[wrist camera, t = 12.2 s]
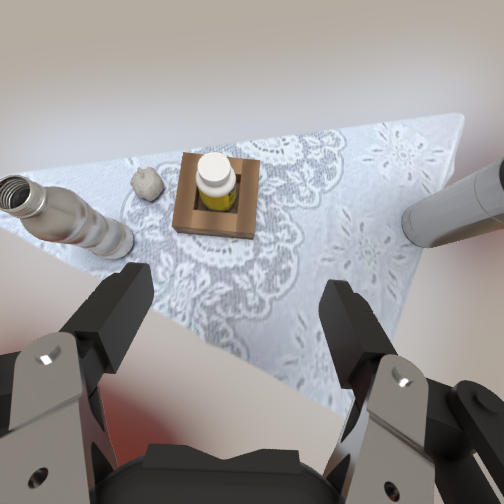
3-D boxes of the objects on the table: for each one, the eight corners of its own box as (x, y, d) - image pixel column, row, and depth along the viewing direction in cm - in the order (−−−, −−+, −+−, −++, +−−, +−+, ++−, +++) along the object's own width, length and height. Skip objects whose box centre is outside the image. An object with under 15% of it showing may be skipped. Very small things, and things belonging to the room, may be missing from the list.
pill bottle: (235, 216, 42) (235, 187, 32) (202, 215, 42) (190, 185, 31) (236, 185, 44) (236, 148, 33) (203, 184, 43) (193, 145, 32)
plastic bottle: (142, 229, 42) (58, 167, 22) (131, 265, 40) (31, 232, 21) (107, 222, 41) (-8, 154, 22) (95, 258, 40) (-40, 218, 21)
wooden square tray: (258, 172, 46) (260, 160, 42) (252, 239, 43) (254, 233, 39) (187, 165, 45) (183, 152, 41) (177, 232, 42) (171, 225, 38)
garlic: (139, 175, 44) (126, 158, 39) (167, 176, 44) (158, 160, 39) (135, 204, 43) (122, 191, 38) (165, 205, 43) (155, 192, 38)
